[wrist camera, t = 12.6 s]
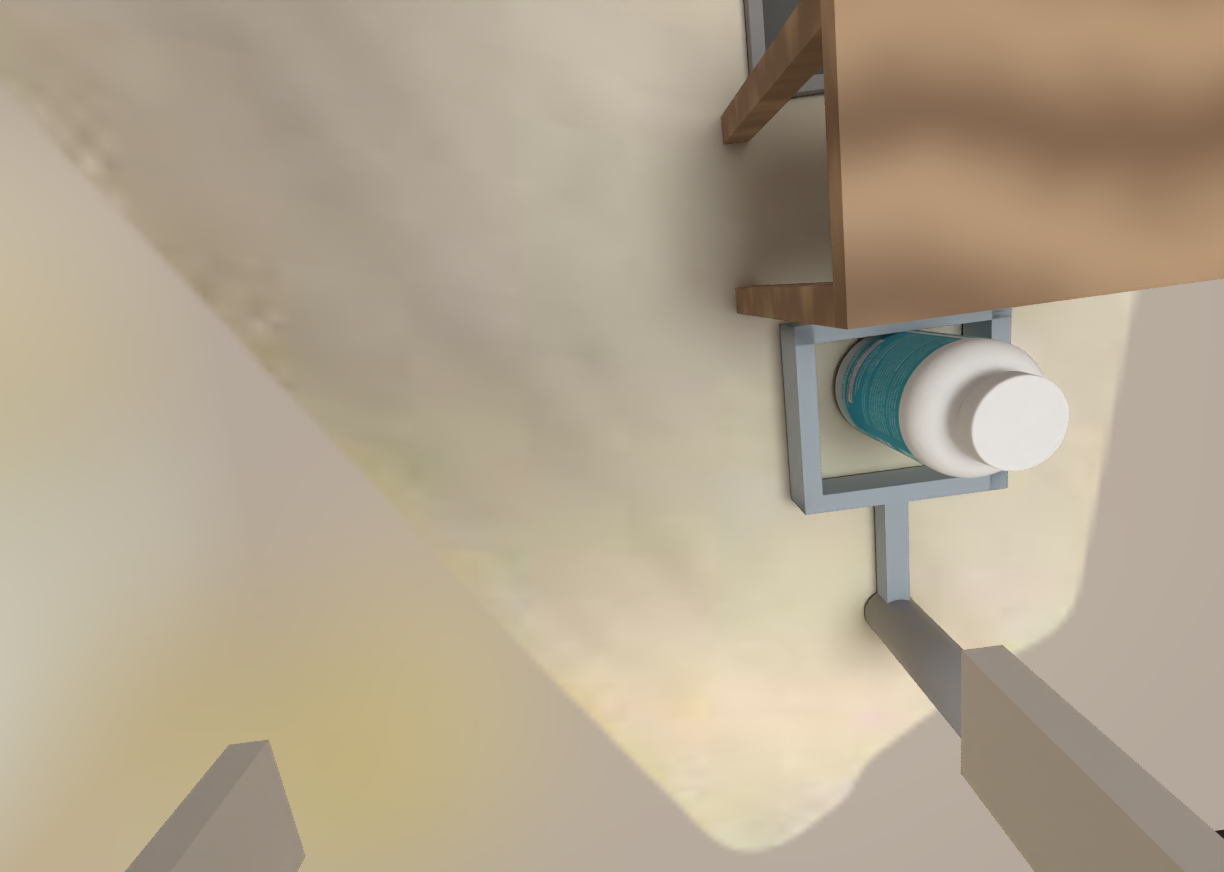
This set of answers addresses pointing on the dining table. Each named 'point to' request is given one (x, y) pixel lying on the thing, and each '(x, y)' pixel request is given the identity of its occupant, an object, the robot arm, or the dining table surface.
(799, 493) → the grey frame on stick
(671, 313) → the dining table surface
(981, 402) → the pill bottle
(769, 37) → the dark grey flat plate
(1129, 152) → the tunnel
